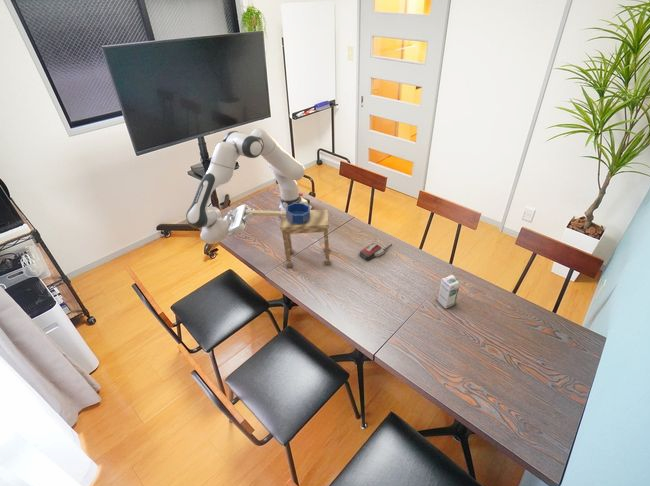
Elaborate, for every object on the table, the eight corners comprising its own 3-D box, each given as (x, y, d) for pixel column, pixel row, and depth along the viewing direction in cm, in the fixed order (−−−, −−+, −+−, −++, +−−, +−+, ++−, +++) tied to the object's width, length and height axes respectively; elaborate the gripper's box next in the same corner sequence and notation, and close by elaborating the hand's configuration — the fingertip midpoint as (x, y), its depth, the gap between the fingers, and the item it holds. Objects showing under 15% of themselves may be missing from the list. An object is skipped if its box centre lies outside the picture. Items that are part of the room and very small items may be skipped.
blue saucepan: (309, 211, 166) (309, 203, 163) (309, 224, 157) (309, 215, 154) (248, 209, 162) (247, 200, 159) (244, 222, 153) (243, 213, 150)
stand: (286, 268, 171) (279, 227, 155) (288, 251, 182) (282, 211, 166) (330, 265, 172) (328, 224, 157) (329, 248, 184) (327, 209, 168)
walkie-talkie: (369, 263, 173) (393, 247, 185) (369, 257, 171) (393, 241, 182) (357, 256, 178) (381, 240, 190) (357, 250, 176) (382, 234, 187)
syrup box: (445, 309, 149) (451, 286, 140) (436, 300, 153) (441, 277, 144) (454, 304, 151) (461, 282, 142) (446, 296, 155) (451, 273, 146)
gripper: (221, 232, 150) (245, 219, 146) (230, 209, 166) (251, 196, 163) (230, 241, 153) (254, 228, 150) (238, 217, 169) (260, 205, 166)
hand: (253, 211), depth 157 cm, fingers closed on blue saucepan, 2 cm apart
